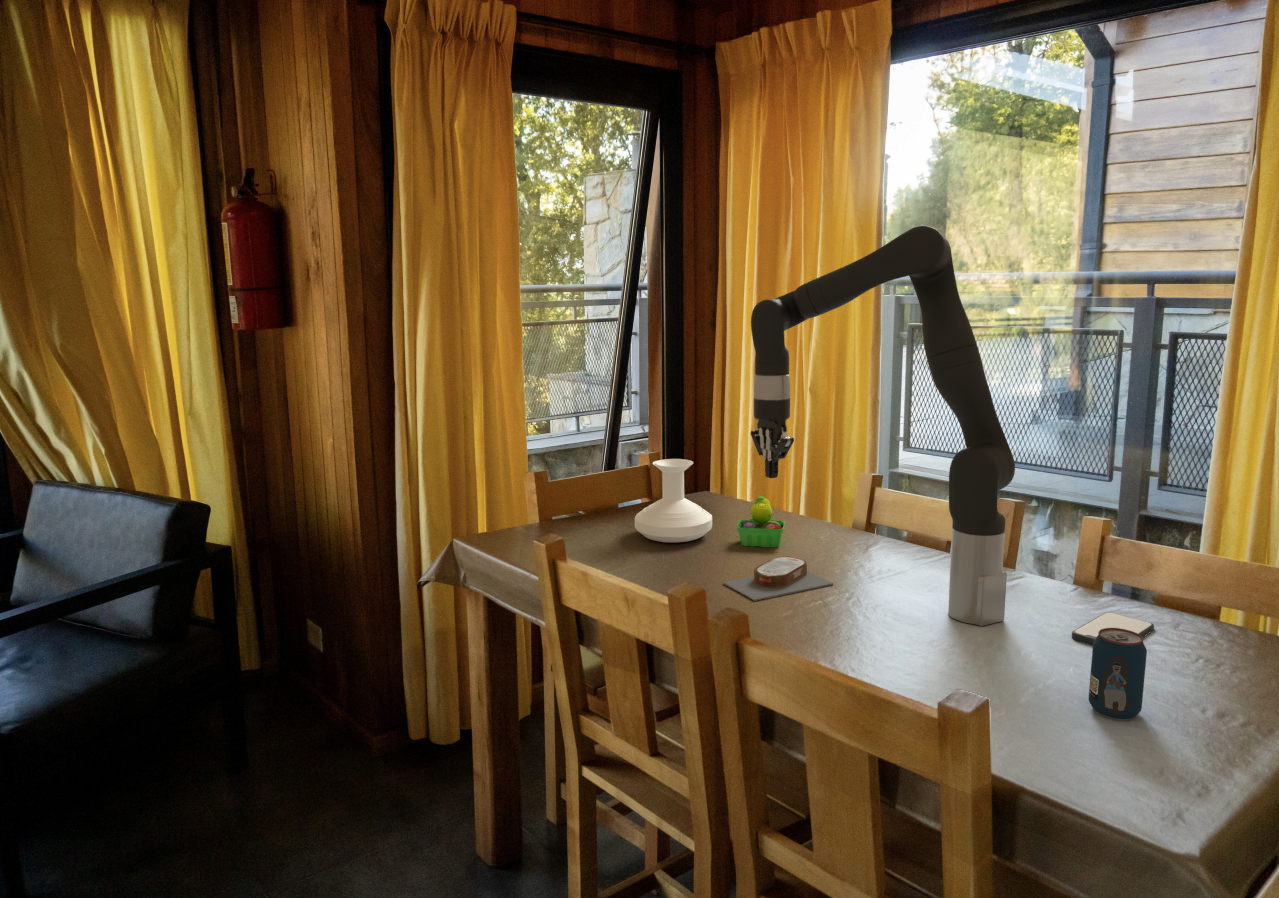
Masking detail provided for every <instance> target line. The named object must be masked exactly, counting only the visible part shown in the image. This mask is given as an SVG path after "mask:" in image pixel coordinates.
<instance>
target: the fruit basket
mask: <svg viewBox="0 0 1279 898" xmlns="http://www.w3.org/2000/svg"><path fill="white" fill-rule="evenodd" d="M750 512H751V518H750V519H740V520H739V521H738V523H737V525H736V530H737V532H738V535H739V540H740V545H741V546H742V545H744V546H743V547H755V546H760V547H761V546H762V547H763V548H779V547H780V543H781V539H782V536H783V533H784V529H785V524H786V521H785V520H772V517H773V509H772V507H771V502H770V501H769V499H767V498H766V496H757V497H756V499H755V501H754V502H753V504H752V506H751V508H750Z"/></svg>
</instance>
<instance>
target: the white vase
mask: <svg viewBox="0 0 1279 898" xmlns="http://www.w3.org/2000/svg"><path fill="white" fill-rule="evenodd" d="M693 464H694V461H692V460H689V459H682V458H667V459H666V458H665V459H659V460H654V461H653V462H652V465H653V466H655V467H656V468H657V469H658V470H660V471H661V473H662V474H661V475H662V476H661V478H662V480H661V483H662V484H661V485H662V486H661V487H662V498H660V499H658V500H656V501H654V502H653V503H651V504H649V505H648V506H646V507H644V508H643V509H642V510H641V511H639V512H637V513H636V515H635V517H634V529H636V530H637V532H638V533H640V534H641V535H643V536H644V537H645V538H647V539H649V540H651V541H656V542H660V543H661V542H662V543H684V542H685V543H686V542H690V541H694V540H698V539H699V538H701V537H703V536H705V535H706V534H707V533H708V532H709V531H711V530H712V529H713V515H712V514H711V513H710V512H708V511H707V510H705V509H704V508H703V507H702V506H700V505H699V504H697V503H695V502H693V501H691V500H689V499H687V498H686V497H685V471H686V470H688V469H689V468H690V467H691V466H692V465H693Z"/></svg>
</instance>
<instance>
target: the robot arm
mask: <svg viewBox="0 0 1279 898" xmlns="http://www.w3.org/2000/svg"><path fill="white" fill-rule="evenodd" d="M954 268H955V267H954V260H953V254H952V249H951V244H950V243H949V240H948V239H947V237H946V236H945V235H944V234H942V232H940V231H939V230H938V229H937V228H934V227H933V226H929V225H916V226H913V227H911V228H909V229H908V230H906V231H904V232H903V233H901V234H900V235H898V236H897V237H895V238H893V239H891V240H890V241H889V242H888V243H886V244H884V245H882V246H881V247H879V248H878V249H875V250H874V251H872V252H871V253H869V254H867V255H866V256H865V255H864V256H863V257H862V258H860V259H857V260H855V261H853V262H850V263H849V264H845V265H844V266H842V267H840V268H837V269H835V270H833V271H830V272H828V273H826V274H823V275H821V276H819V277H816V278H814V279H812V280H810V281H807V282H805V283H803V284H801V285H799V286H798V287H797V288H796V289H795V290H793V291H790V292H788V293H785V294H783V295H780V296H778V297H774V298H769V299H768V298H767V299H763V300H760V301H759V302H757V303H756V305H754V307H753V309H752V310H751V311H752V312H751V316H750V330H751V336H752V342H753V348H754V352H755V356H754V357H755V358H754V381H753V382H754V383H753V418H754V419H755V420H758V421H757V424H756V429H754V430H750V436H751V439H752V441H753V443H754V444H753V445H754V446H755V449H756V451H757V453H758V455H759V456H762V459H763V460H764V468H765V469H764V473H765V475H764V476H765V478H768V479H775V478H778V476H779V461H780V460H781V459H785V458H786V456H787V455H788V452H789V451H790V450H791V448H792V446H793V444H794V443H795V442H794V441H795V438H794V437H793V436H790V435H788V433H787V431H788V429H787V425H786V421H787V420H789V418H791V380H790V353H789V352H790V351H789V350H788V347H787V346H786V344H785V331H787V330H790V329H791V328H793V327H795V326H798V325H800V324H802V323H804V322H805V321H808V320H809V319H813V318H816V317H819V316H822V315H823V314H826V313H828V312H831V311H833V310H835V309H838V308H841V307H842V306H844V305H846V304H848V303H850V302H852V301H853V300H855V299H857V298H858V297H860V296H861V295H863V294H865V293H867V292H868V291H870V290H872V289H874V288H875V287H878V286H880V285H883V284H885V283H888V282H891V281H894V280H897V279H901V278H905V277H909V279H910V281H911V283H912V286H913V289H914V292H915V294H916V297H917V300H918V303H919V308H920V312H921V323H922V324H921V325H922V326H921V327H922V340H923V347H924V348H923V349H924V353H925V357H926V361H927V365H928V368H929V371H930V375H931V378H932V381H933V383H934V386H935V387H936V389H937V391H938V393H939V394H940V396H941V397H942V398H943V400H944V401H945V403H946V404H947V406H948V407H949V408H950V409H951V411H952V413H953V415H955V417H956V420H957V421H958V424H959V426H960V428H961V433H962V436H963V440H964V443H965V448H963V449H961V450H959V451H958V452H957V453H955V455H954V456H953V457H952V459H951V461H950V465H949V472H948V473H949V474H948V510H949V511H948V512H949V513H950V516H951V520H952V521H951V522H952V525H951V526H952V527H951V528H952V529H951V530H952V531H951V543H950V545H951V546H950V548H951V549H950V565H949V566H950V567H949V568H950V569H949V584H948V585H949V586H948V587H949V589H948V611H947V614H948V615H949V616H950V617H951V618H952V619H953V620H956V621H959V622H961V623H964V624H965V623H966V624H970V625H977V626H979V627H984V626H988V625H991V624H995V623H999V622H1004V621H1005V614H1006V613H1005V611H1006V596H1007V579H1008V573H1007V572H1006V571H1004V570H1003V569H1004V568H1003V567H1004V554H1005V553H1004V550H1005V536H1006V534H1005V533H1006V517H1005V516H1004V514H1003V513H1000V512H999V511H998V510H999V509H998V491H1000V490H1002V489H1004V488H1006V487H1008V485H1010V484H1011V483H1012V482H1013V479H1014V477H1015V473H1016V461H1015V459H1014V456H1013V452H1012V450H1011V448H1010V445H1009V443H1008V440H1007V438H1006V436H1005V433H1004V430H1003V428H1002V426H1001V423H1000V420H999V418H998V415H997V412H996V409H995V406H994V400H993V397H992V395H991V390H990V386H989V384H988V383H989V382H988V380H987V377H986V373H985V370H984V364H983V360H982V357H981V354H980V349H979V347H978V343H977V339H976V337H975V333H974V331H973V329H972V326H971V323H970V320H969V318H968V317H969V316H968V314H967V313H966V310H965V306H964V305H963V303H962V299H961V297H960V294H959V290H958V285H957V279H956V274H955V270H954Z"/></svg>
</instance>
